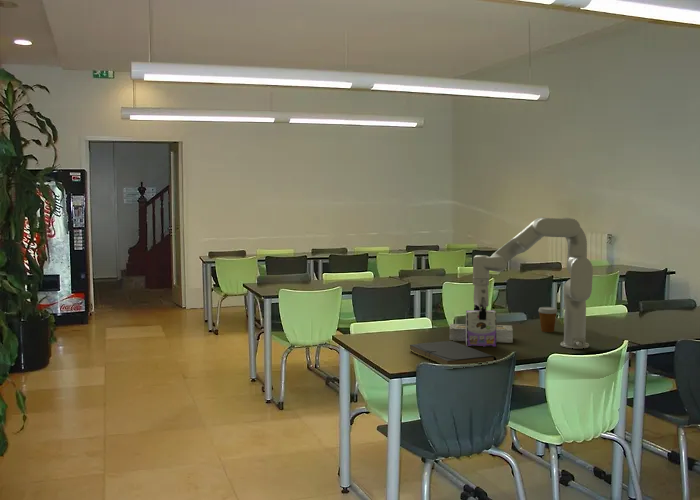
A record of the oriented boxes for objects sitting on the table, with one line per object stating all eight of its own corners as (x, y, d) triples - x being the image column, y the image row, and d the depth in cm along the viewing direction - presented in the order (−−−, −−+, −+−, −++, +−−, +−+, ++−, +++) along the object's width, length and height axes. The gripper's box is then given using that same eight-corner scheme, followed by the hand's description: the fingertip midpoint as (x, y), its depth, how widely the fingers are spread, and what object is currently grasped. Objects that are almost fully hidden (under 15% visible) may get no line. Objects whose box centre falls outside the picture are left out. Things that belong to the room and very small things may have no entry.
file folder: (409, 343, 304) (454, 339, 314) (408, 352, 305) (454, 348, 314) (447, 360, 274) (496, 354, 283) (446, 369, 274) (496, 364, 284)
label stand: (511, 337, 332) (511, 324, 332) (512, 342, 321) (512, 329, 320) (450, 335, 338) (450, 323, 338) (449, 340, 326) (449, 327, 326)
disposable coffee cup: (554, 333, 340) (554, 310, 339) (535, 331, 345) (536, 308, 344) (559, 330, 348) (559, 307, 347) (540, 328, 353) (541, 306, 352)
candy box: (495, 344, 318) (495, 309, 317) (496, 347, 312) (496, 312, 311) (465, 343, 319) (465, 309, 318) (466, 346, 313) (466, 311, 312)
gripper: (493, 284, 305) (492, 321, 306) (483, 279, 322) (482, 314, 324) (477, 284, 304) (476, 321, 306) (468, 279, 322) (467, 314, 323)
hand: (479, 317), depth 315 cm, fingers open, 9 cm apart
